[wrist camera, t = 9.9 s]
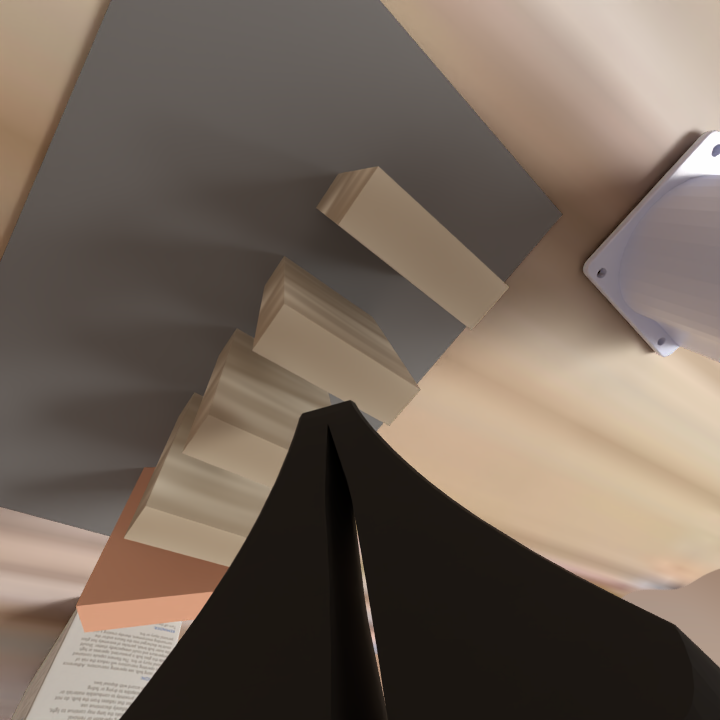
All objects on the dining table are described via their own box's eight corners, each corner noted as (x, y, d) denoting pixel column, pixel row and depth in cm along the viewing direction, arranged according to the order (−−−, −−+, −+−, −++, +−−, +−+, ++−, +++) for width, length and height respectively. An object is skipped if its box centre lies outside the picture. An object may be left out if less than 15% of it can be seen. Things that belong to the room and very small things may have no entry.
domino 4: (338, 173, 15) (378, 166, 8) (425, 248, 17) (509, 287, 10) (315, 207, 15) (338, 224, 9) (403, 277, 17) (471, 330, 11)
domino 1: (236, 328, 16) (208, 414, 10) (325, 378, 19) (346, 475, 12) (219, 354, 17) (182, 453, 11) (308, 400, 19) (319, 506, 13)
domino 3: (144, 467, 19) (75, 605, 13) (243, 464, 20) (225, 590, 14) (147, 490, 19) (84, 632, 13) (244, 486, 21) (226, 615, 14)
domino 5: (284, 255, 16) (284, 303, 9) (372, 317, 18) (420, 389, 11) (264, 285, 16) (252, 350, 10) (353, 342, 18) (389, 426, 12)
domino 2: (194, 392, 17) (145, 505, 11) (283, 433, 20) (282, 548, 13) (178, 415, 18) (123, 538, 12) (267, 453, 20) (259, 575, 14)
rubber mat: (558, 214, 17) (562, 214, 17) (253, 570, 24) (252, 574, 24) (202, -200, 10) (200, -211, 10) (-88, 477, 17) (-94, 481, 17)
